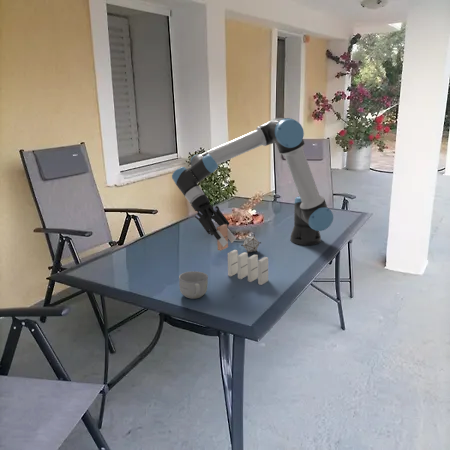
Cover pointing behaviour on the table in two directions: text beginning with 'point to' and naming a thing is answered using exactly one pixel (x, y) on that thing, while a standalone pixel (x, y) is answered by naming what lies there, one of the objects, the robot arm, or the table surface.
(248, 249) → the game die
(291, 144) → the robot arm
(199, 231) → the table surface
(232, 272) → the domino
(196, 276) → the teacup
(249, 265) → the domino
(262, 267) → the domino
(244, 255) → the domino
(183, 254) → the table surface
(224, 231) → the domino
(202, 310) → the table surface
